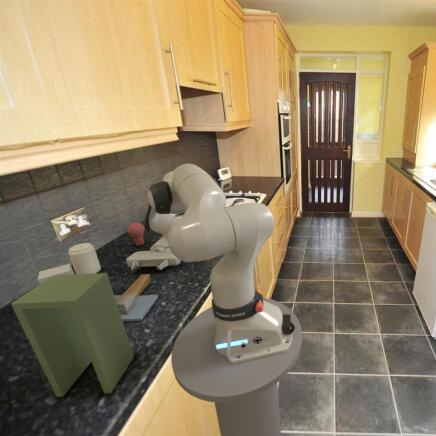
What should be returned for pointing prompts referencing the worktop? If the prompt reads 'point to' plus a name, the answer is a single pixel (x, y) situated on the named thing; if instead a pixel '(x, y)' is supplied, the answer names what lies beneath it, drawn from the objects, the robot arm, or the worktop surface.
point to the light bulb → (137, 232)
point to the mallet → (132, 294)
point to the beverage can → (84, 259)
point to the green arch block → (75, 329)
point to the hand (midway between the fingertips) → (146, 268)
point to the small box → (55, 272)
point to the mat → (140, 308)
